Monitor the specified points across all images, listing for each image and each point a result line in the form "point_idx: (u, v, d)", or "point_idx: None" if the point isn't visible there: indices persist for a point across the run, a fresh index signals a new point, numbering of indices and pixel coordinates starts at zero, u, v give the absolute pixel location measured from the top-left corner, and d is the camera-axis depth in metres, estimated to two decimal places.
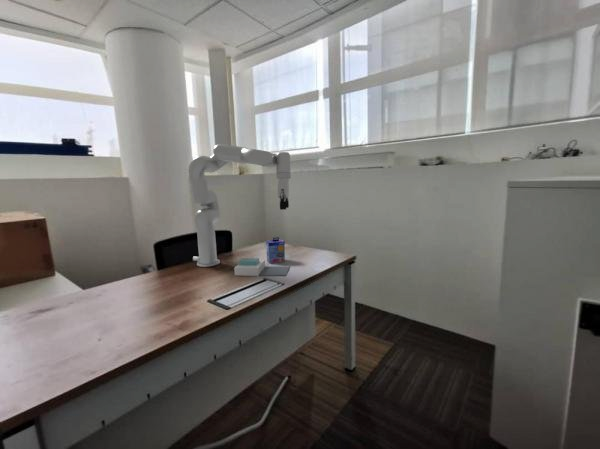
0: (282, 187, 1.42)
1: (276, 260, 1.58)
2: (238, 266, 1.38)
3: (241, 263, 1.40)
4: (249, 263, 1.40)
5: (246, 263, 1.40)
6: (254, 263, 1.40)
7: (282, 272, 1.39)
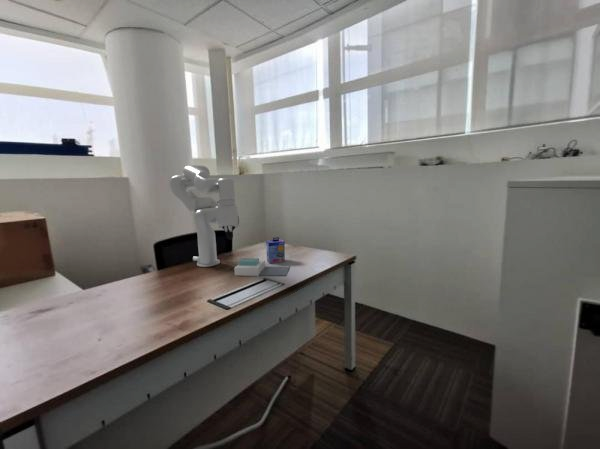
0: (237, 214, 1.40)
1: (276, 260, 1.58)
2: (238, 266, 1.38)
3: (241, 263, 1.40)
4: (249, 263, 1.40)
5: (246, 263, 1.40)
6: (254, 263, 1.40)
7: (282, 272, 1.39)
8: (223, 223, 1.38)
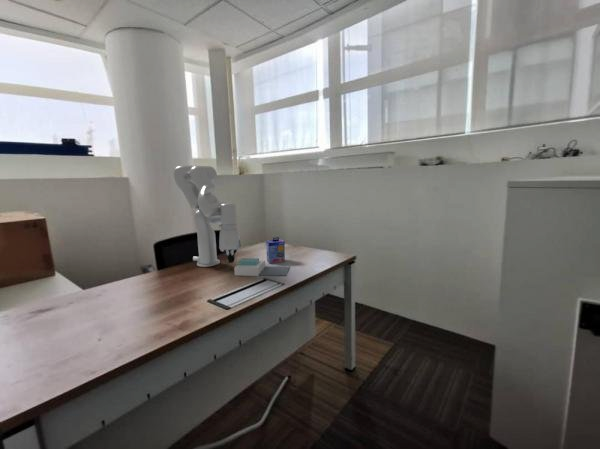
0: (239, 238, 1.41)
1: (276, 260, 1.58)
2: (238, 266, 1.38)
3: (241, 263, 1.40)
4: (249, 263, 1.40)
5: (246, 263, 1.40)
6: (254, 263, 1.40)
7: (282, 272, 1.39)
8: (224, 247, 1.40)
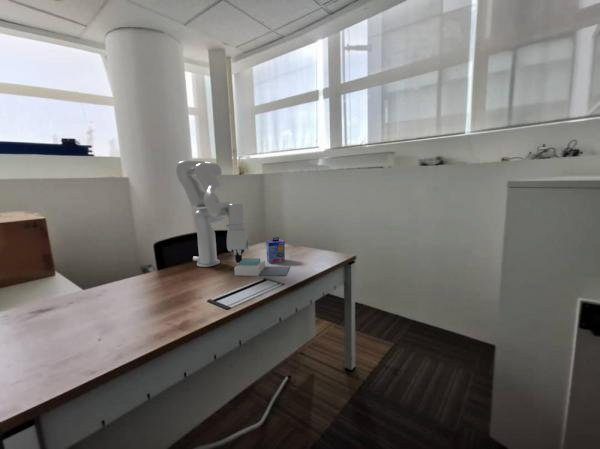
0: (246, 238, 1.41)
1: (276, 260, 1.58)
2: (238, 266, 1.38)
3: (242, 263, 1.40)
4: (250, 263, 1.40)
5: (247, 263, 1.40)
6: (255, 263, 1.39)
7: (282, 272, 1.39)
8: (232, 247, 1.40)
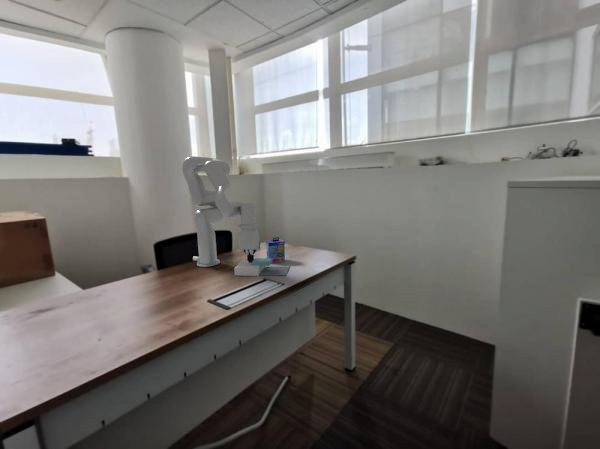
0: (259, 238, 1.40)
1: (276, 260, 1.58)
2: (238, 266, 1.38)
3: (254, 263, 1.40)
4: (262, 263, 1.39)
5: (259, 263, 1.39)
6: (267, 263, 1.39)
7: (282, 272, 1.39)
8: (244, 247, 1.39)
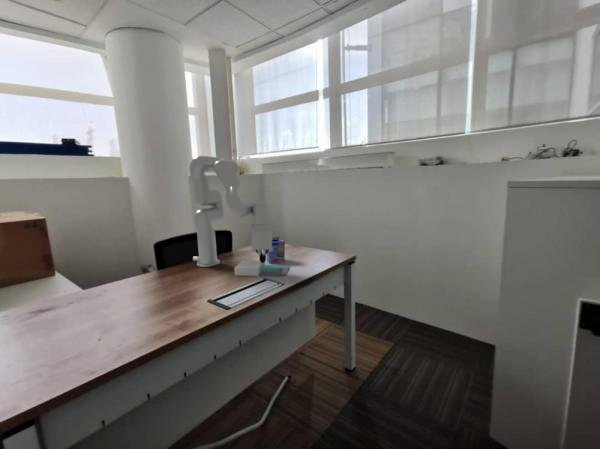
0: (271, 238, 1.40)
1: (276, 260, 1.58)
2: (238, 266, 1.38)
3: (263, 270, 1.40)
4: (271, 270, 1.39)
5: (268, 270, 1.39)
6: (276, 270, 1.39)
7: (282, 272, 1.39)
8: (257, 247, 1.38)
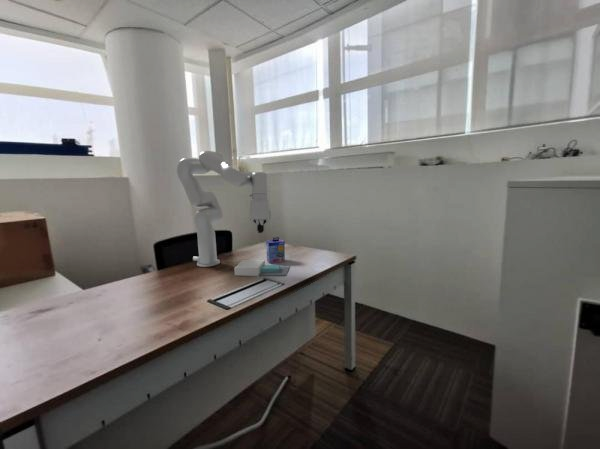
0: (269, 208, 1.40)
1: (276, 260, 1.58)
2: (238, 266, 1.38)
3: (263, 270, 1.40)
4: (271, 270, 1.39)
5: (268, 270, 1.39)
6: (276, 270, 1.39)
7: (282, 272, 1.39)
8: (255, 216, 1.39)
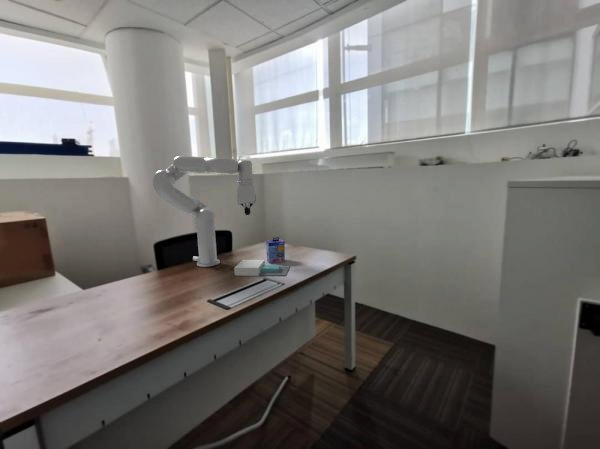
0: None
1: (276, 260, 1.58)
2: (238, 266, 1.38)
3: (263, 270, 1.40)
4: (271, 270, 1.39)
5: (268, 270, 1.39)
6: (276, 270, 1.39)
7: (282, 272, 1.39)
8: (242, 200, 1.56)
